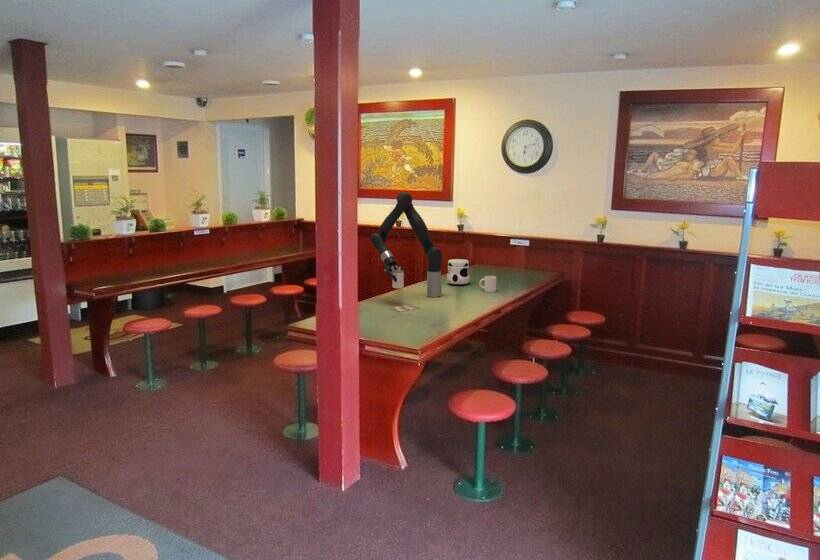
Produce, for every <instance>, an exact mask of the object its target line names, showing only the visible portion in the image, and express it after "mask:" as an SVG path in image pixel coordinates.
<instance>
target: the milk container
mask: <svg viewBox="0 0 820 560" xmlns="http://www.w3.org/2000/svg"><path fill="white" fill-rule="evenodd" d="M469 262H470V261H469V260H468V259H463V258H462V259H461V258H453V259H452V258H451V259H449V260H448V261H447V274H446V283H448V284H449V285H453V286H465V285H469V283H470V280H471V277H470V265H469V264H470V263H469Z"/></svg>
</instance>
